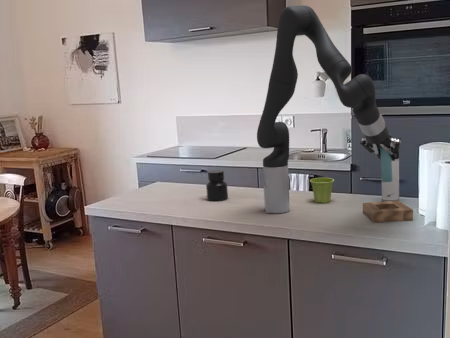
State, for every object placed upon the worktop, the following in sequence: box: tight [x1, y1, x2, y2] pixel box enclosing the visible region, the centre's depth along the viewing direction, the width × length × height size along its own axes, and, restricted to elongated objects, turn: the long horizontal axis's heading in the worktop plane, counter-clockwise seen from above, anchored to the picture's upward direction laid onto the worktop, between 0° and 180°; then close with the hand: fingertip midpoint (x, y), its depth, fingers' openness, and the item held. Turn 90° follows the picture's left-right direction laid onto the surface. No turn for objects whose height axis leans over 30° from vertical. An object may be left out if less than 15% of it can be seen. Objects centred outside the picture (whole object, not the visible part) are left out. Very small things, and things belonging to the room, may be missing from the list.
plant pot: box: [309, 177, 335, 204], centre depth 193 cm, size 9×9×9 cm
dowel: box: [380, 148, 393, 183], centre depth 164 cm, size 3×3×16 cm
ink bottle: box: [205, 169, 229, 202], centre depth 208 cm, size 10×9×12 cm
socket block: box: [362, 200, 414, 223], centre depth 168 cm, size 13×13×4 cm
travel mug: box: [381, 150, 400, 202], centre depth 186 cm, size 6×7×20 cm
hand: (388, 158), depth 166 cm, fingers closed on dowel, 3 cm apart
